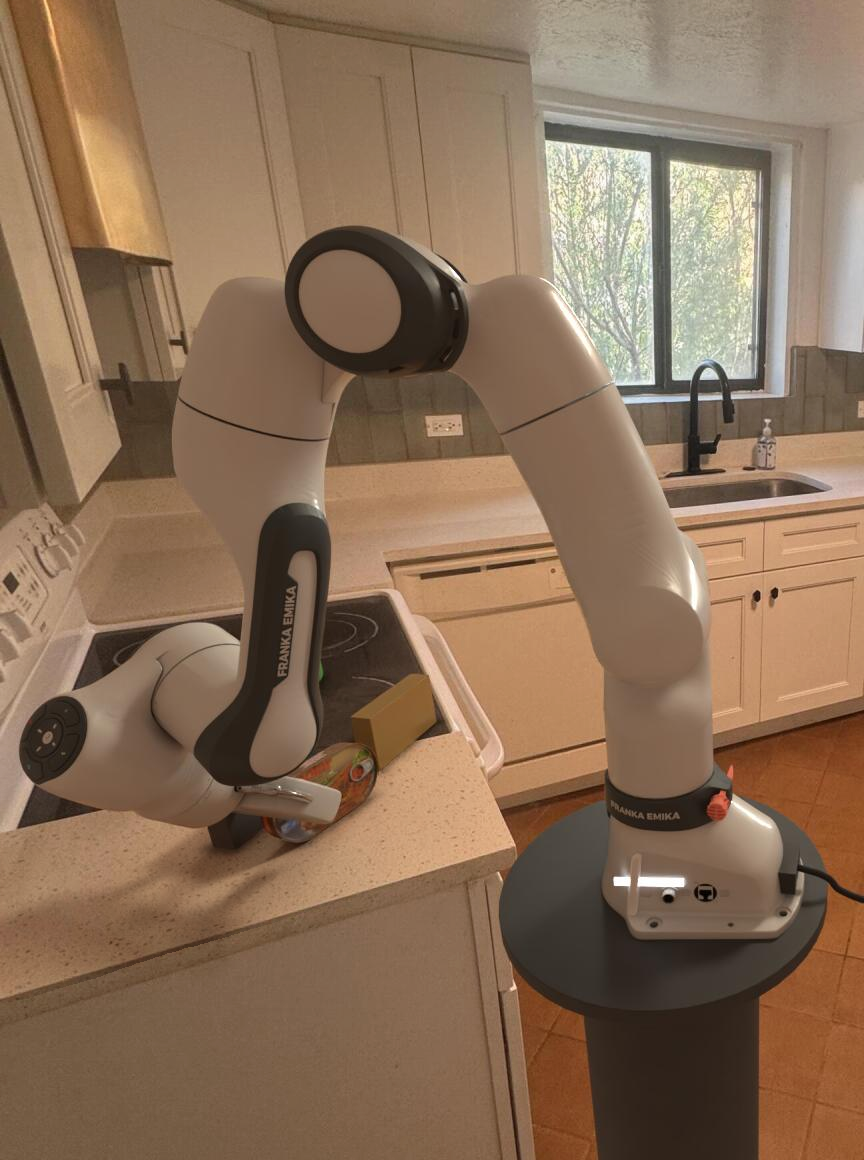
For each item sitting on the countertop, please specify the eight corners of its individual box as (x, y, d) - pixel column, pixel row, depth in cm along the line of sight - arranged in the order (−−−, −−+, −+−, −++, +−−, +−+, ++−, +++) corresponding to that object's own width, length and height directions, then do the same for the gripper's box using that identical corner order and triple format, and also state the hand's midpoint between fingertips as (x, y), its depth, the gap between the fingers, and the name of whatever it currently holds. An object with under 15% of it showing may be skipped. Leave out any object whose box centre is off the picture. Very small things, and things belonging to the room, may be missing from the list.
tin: (284, 858, 89) (268, 795, 86) (264, 851, 91) (247, 789, 88) (384, 788, 103) (373, 732, 100) (366, 784, 104) (354, 728, 101)
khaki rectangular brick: (436, 722, 120) (429, 674, 117) (380, 770, 107) (369, 718, 104) (419, 720, 120) (410, 673, 117) (360, 768, 107) (349, 716, 104)
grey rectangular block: (323, 780, 105) (316, 747, 103) (234, 850, 91) (224, 813, 89) (303, 777, 105) (296, 745, 103) (212, 847, 91) (201, 811, 90)
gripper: (300, 760, 77) (379, 789, 90) (126, 740, 81) (224, 771, 93) (277, 824, 75) (360, 846, 87) (97, 801, 78) (202, 825, 91)
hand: (289, 807), depth 90 cm, fingers open, 8 cm apart
